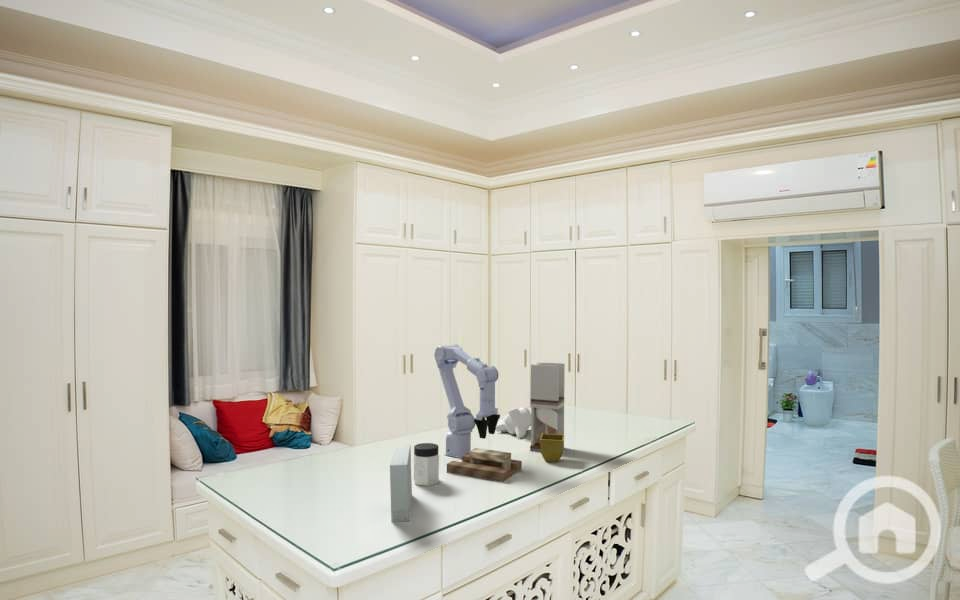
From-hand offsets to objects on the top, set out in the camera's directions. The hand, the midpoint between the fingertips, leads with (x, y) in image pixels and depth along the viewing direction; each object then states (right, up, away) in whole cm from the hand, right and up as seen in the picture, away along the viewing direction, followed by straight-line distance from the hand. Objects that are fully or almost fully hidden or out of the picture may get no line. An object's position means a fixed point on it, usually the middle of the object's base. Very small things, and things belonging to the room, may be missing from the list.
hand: (487, 435), depth 206 cm
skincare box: (-26, -10, -44) cm, 52 cm away
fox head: (+13, -11, +48) cm, 51 cm away
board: (-1, -10, -8) cm, 13 cm away
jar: (-21, -10, -21) cm, 31 cm away
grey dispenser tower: (+25, -11, +21) cm, 34 cm away
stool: (+1, -9, -9) cm, 13 cm away
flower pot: (+25, -11, +5) cm, 28 cm away
